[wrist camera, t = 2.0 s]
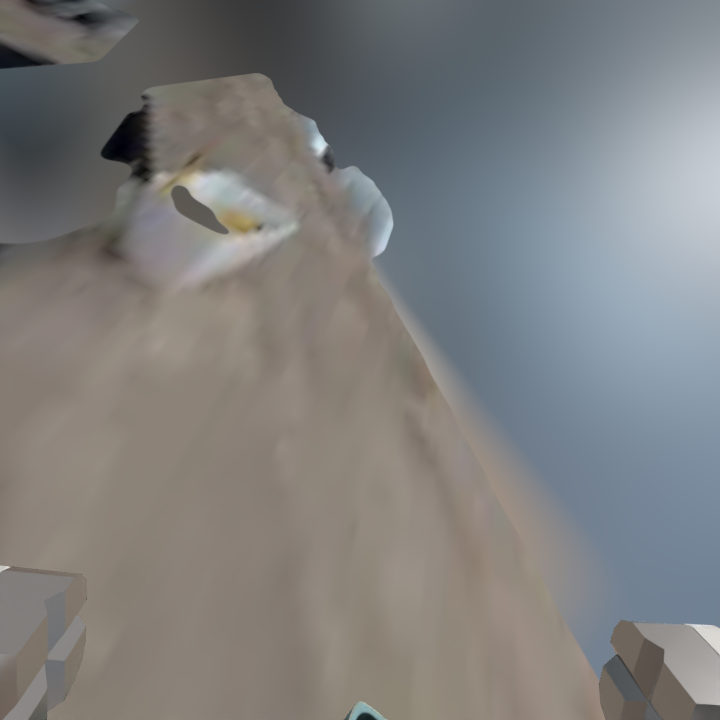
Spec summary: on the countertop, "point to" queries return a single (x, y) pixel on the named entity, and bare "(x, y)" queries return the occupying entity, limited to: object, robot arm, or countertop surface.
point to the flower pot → (363, 713)
